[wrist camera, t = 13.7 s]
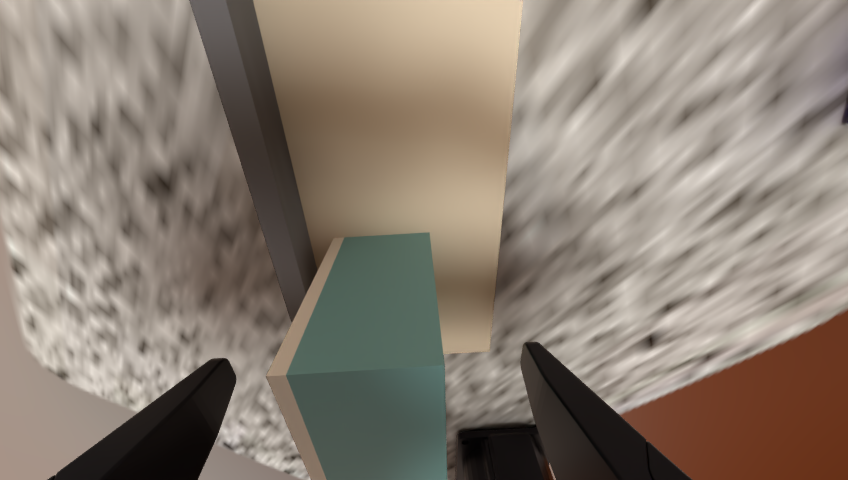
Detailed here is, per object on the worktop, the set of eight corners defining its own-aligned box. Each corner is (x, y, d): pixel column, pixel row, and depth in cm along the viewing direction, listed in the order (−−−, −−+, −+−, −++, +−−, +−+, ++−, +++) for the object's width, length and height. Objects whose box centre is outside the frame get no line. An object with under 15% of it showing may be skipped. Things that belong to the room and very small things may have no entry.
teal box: (433, 330, 14) (447, 487, 8) (354, 335, 14) (318, 496, 8) (429, 232, 11) (444, 365, 6) (333, 237, 11) (265, 376, 6)
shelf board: (483, 328, 16) (497, 378, 13) (327, 336, 16) (310, 388, 13) (537, -373, 6) (624, -687, 4) (151, -367, 6) (-38, -687, 4)
